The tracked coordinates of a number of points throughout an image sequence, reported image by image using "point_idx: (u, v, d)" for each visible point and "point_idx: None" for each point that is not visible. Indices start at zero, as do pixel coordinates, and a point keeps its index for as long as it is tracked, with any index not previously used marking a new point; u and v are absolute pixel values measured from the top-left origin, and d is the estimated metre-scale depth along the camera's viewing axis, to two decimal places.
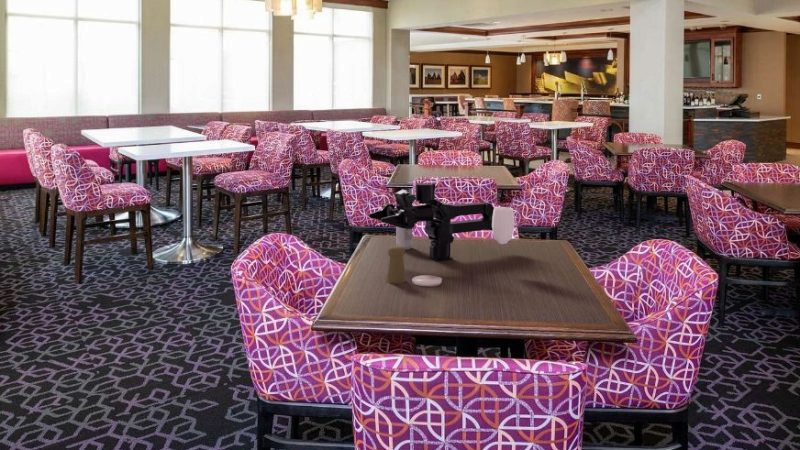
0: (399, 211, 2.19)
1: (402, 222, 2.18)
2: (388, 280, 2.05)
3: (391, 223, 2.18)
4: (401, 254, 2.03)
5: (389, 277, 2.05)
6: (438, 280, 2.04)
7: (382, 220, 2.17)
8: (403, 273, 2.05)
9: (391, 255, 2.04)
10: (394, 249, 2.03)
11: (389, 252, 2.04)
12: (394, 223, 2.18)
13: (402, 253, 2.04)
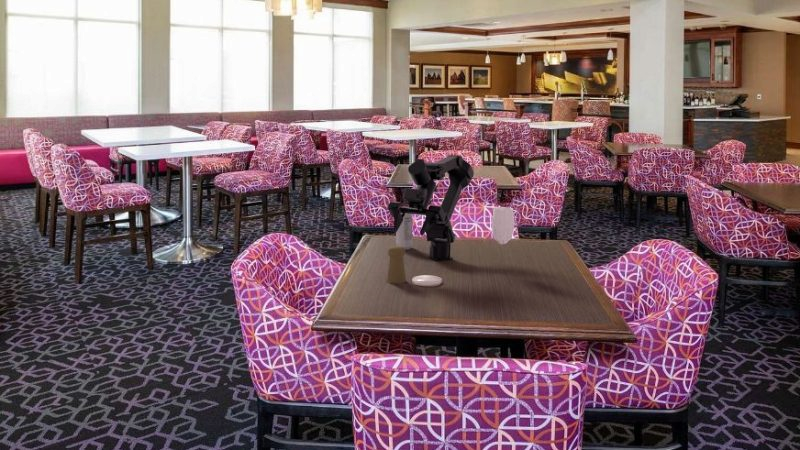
0: (427, 214, 2.10)
1: (435, 220, 2.12)
2: (388, 280, 2.05)
3: (428, 228, 2.11)
4: (401, 254, 2.03)
5: (389, 277, 2.05)
6: (438, 280, 2.04)
7: (421, 234, 2.09)
8: (403, 273, 2.05)
9: (391, 255, 2.04)
10: (394, 249, 2.03)
11: (389, 252, 2.04)
12: (429, 226, 2.11)
13: (402, 253, 2.04)
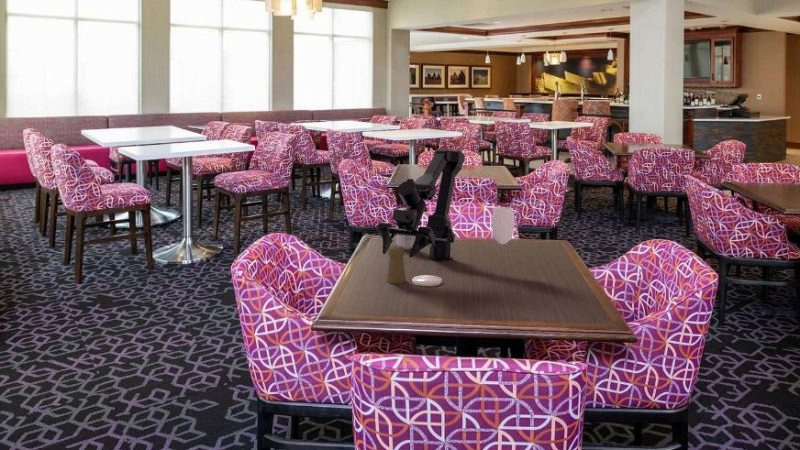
0: (416, 235, 2.04)
1: (425, 242, 2.06)
2: (388, 280, 2.05)
3: (417, 251, 2.06)
4: (401, 254, 2.03)
5: (389, 277, 2.05)
6: (438, 280, 2.04)
7: (411, 256, 2.04)
8: (403, 273, 2.05)
9: (391, 255, 2.04)
10: (394, 249, 2.03)
11: (389, 252, 2.04)
12: (419, 248, 2.06)
13: (402, 253, 2.04)
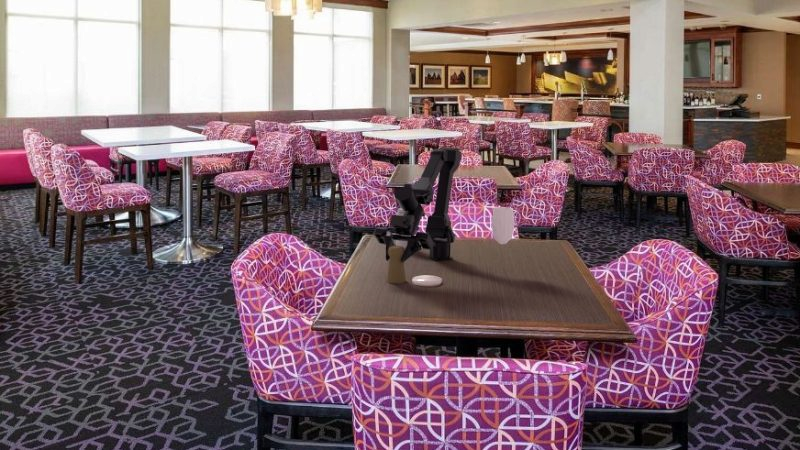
0: (408, 240, 2.04)
1: (417, 247, 2.06)
2: (388, 280, 2.05)
3: (409, 255, 2.05)
4: (401, 254, 2.03)
5: (389, 277, 2.05)
6: (438, 280, 2.04)
7: (403, 261, 2.03)
8: (403, 273, 2.05)
9: (391, 255, 2.04)
10: (394, 249, 2.03)
11: (389, 252, 2.04)
12: (411, 253, 2.06)
13: (402, 253, 2.04)
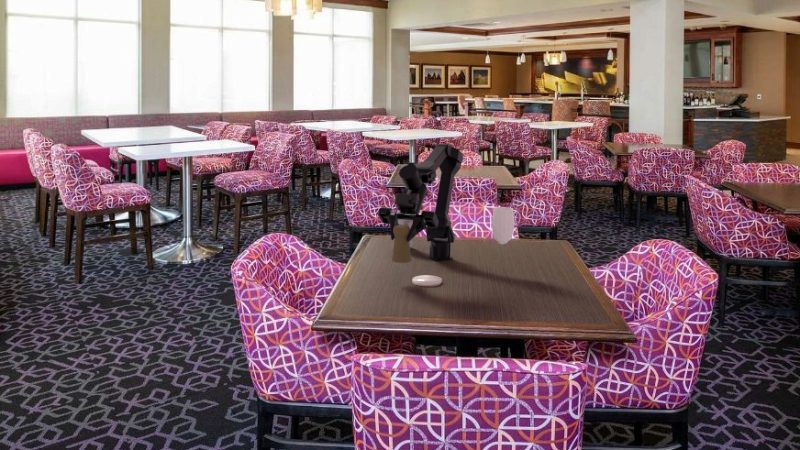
0: (413, 219, 2.03)
1: (422, 225, 2.05)
2: (394, 259, 2.04)
3: (415, 234, 2.04)
4: (407, 233, 2.02)
5: (395, 256, 2.03)
6: (438, 280, 2.04)
7: (408, 240, 2.02)
8: (409, 252, 2.04)
9: (397, 234, 2.02)
10: (400, 228, 2.01)
11: (394, 231, 2.02)
12: (416, 232, 2.04)
13: (408, 232, 2.02)
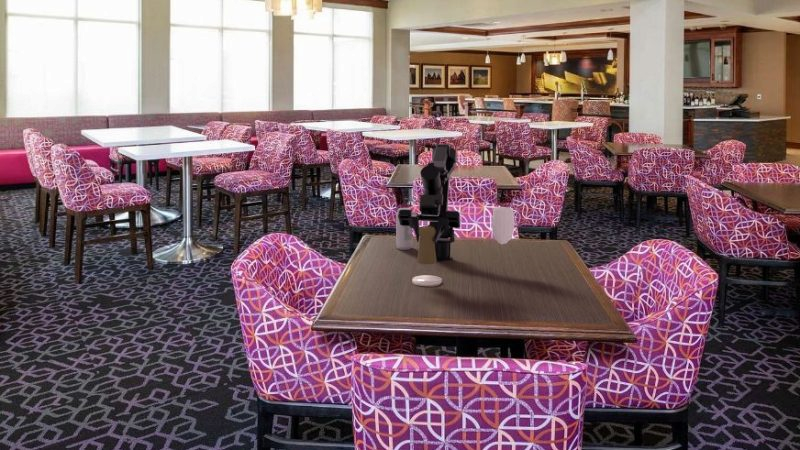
0: (439, 220, 2.01)
1: (445, 226, 2.04)
2: (420, 261, 2.01)
3: (440, 235, 2.03)
4: (434, 234, 2.00)
5: (422, 258, 2.01)
6: (438, 280, 2.04)
7: (436, 241, 2.00)
8: (435, 253, 2.02)
9: (424, 236, 1.99)
10: (427, 229, 1.99)
11: (421, 233, 2.00)
12: (441, 232, 2.03)
13: (434, 233, 2.00)
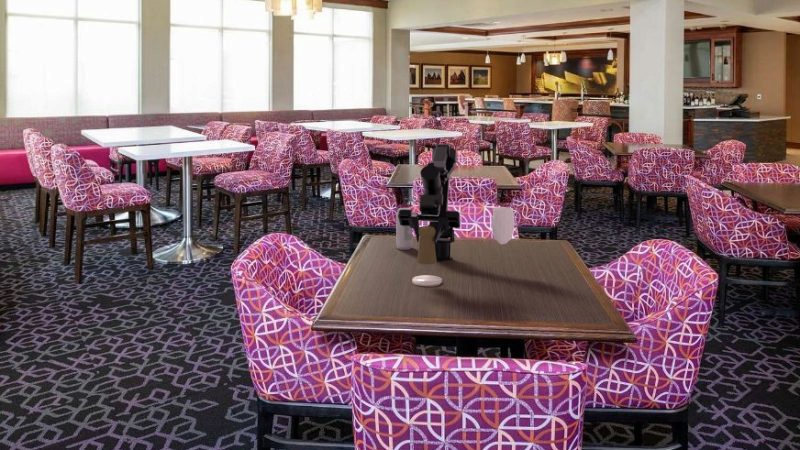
0: (439, 220, 2.01)
1: (445, 226, 2.04)
2: (420, 261, 2.01)
3: (440, 235, 2.03)
4: (434, 234, 2.00)
5: (422, 258, 2.01)
6: (438, 280, 2.04)
7: (436, 241, 2.00)
8: (435, 253, 2.02)
9: (424, 236, 1.99)
10: (427, 229, 1.99)
11: (421, 233, 2.00)
12: (441, 232, 2.03)
13: (434, 233, 2.00)
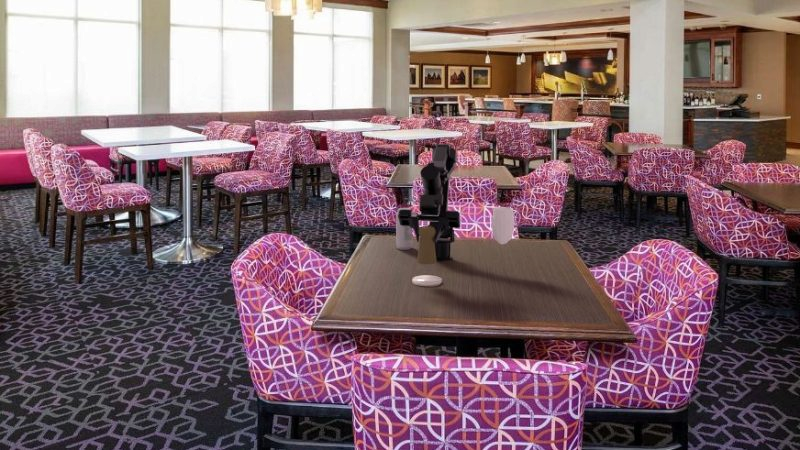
0: (439, 220, 2.01)
1: (445, 226, 2.04)
2: (420, 261, 2.01)
3: (440, 235, 2.03)
4: (434, 234, 2.00)
5: (422, 258, 2.01)
6: (438, 280, 2.04)
7: (436, 241, 2.00)
8: (435, 253, 2.02)
9: (424, 236, 1.99)
10: (427, 229, 1.99)
11: (421, 233, 2.00)
12: (441, 232, 2.03)
13: (434, 233, 2.00)
